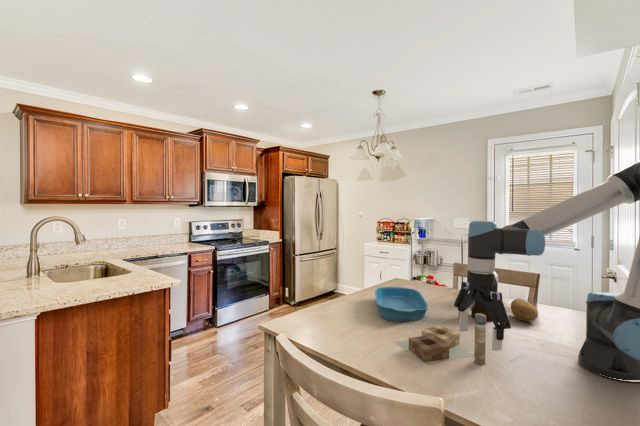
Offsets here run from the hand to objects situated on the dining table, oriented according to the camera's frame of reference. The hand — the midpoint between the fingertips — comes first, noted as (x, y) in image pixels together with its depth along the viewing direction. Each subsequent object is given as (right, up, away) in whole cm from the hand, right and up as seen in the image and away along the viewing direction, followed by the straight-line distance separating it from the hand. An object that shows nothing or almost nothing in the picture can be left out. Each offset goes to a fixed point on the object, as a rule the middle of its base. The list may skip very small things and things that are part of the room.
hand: (478, 339), depth 97 cm
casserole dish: (-12, -7, +51) cm, 53 cm away
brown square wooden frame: (-14, -7, +6) cm, 16 cm away
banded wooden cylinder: (0, -8, 0) cm, 8 cm away
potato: (+39, -7, +39) cm, 56 cm away
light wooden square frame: (-7, -7, +14) cm, 17 cm away
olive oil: (+23, -7, +42) cm, 48 cm away
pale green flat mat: (-11, -8, +9) cm, 16 cm away
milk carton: (+34, -7, +60) cm, 70 cm away
